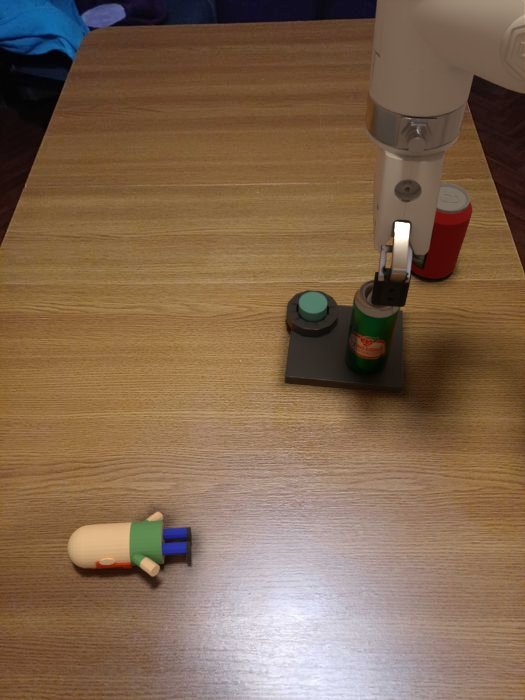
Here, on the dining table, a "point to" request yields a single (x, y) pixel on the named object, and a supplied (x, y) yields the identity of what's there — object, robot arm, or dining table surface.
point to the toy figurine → (128, 544)
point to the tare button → (312, 306)
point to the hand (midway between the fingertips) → (388, 267)
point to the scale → (336, 351)
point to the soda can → (370, 332)
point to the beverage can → (445, 233)
